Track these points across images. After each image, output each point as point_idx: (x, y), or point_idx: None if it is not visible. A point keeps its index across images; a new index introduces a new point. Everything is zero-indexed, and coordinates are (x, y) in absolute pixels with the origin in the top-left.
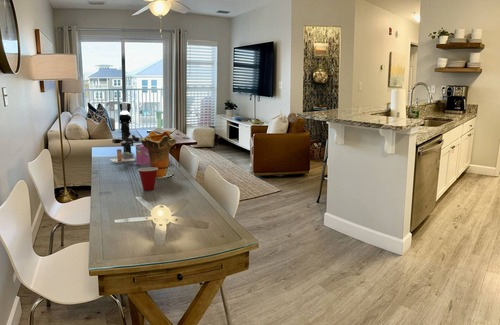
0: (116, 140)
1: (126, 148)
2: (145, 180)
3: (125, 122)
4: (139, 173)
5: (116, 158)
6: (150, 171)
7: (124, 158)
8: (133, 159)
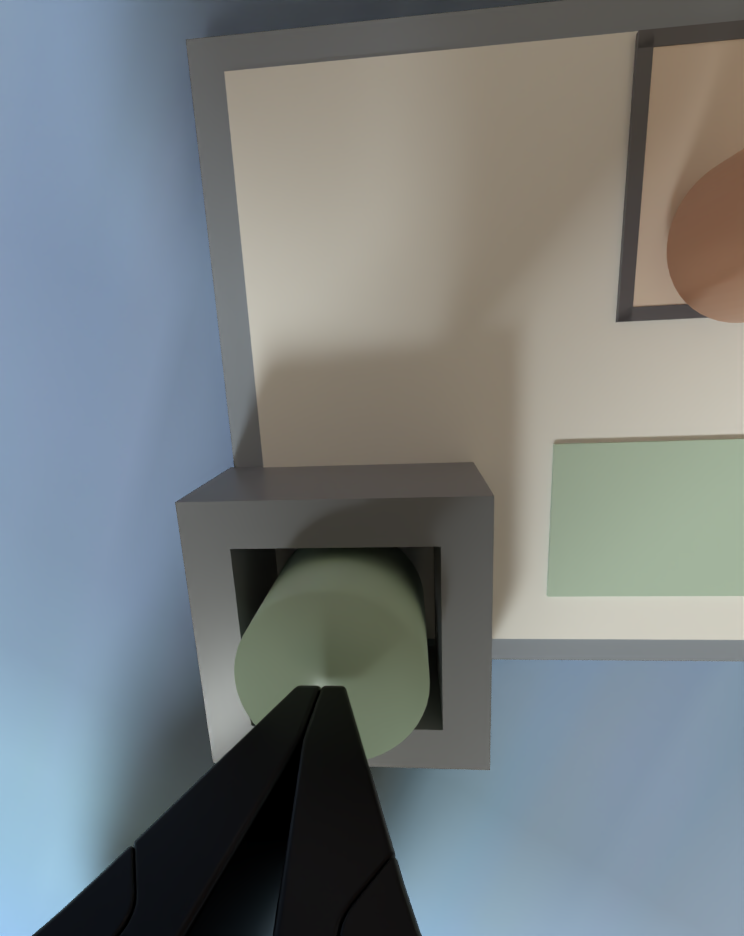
0: None
1: (310, 795)
2: None
3: None
4: None
5: (634, 634)
6: None
7: (473, 465)
8: (271, 223)
